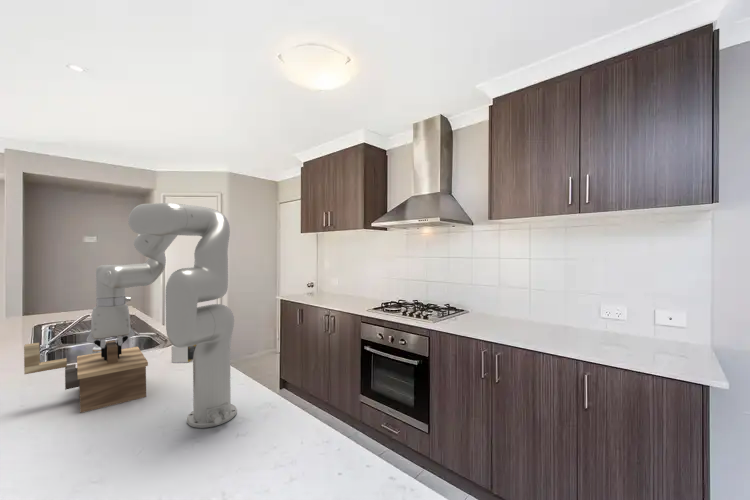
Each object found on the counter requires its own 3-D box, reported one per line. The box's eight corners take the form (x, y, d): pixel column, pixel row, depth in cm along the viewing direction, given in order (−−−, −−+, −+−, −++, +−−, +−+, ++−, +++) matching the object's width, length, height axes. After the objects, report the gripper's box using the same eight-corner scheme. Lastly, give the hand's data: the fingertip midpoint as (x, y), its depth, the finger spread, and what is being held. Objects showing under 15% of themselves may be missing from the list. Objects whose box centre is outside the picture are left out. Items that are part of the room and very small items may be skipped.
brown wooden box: (146, 396, 110) (145, 362, 110) (64, 416, 97) (64, 377, 97) (136, 377, 126) (136, 347, 126) (66, 392, 113) (65, 359, 113)
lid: (147, 365, 110) (147, 346, 110) (77, 379, 98) (77, 357, 98) (137, 349, 127) (137, 333, 127) (77, 359, 116) (76, 341, 116)
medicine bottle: (188, 362, 142) (188, 334, 142) (171, 362, 142) (170, 334, 142) (197, 357, 149) (197, 329, 149) (181, 357, 149) (181, 329, 149)
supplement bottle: (104, 363, 141) (104, 339, 141) (113, 365, 139) (113, 340, 139) (89, 368, 136) (89, 342, 136) (98, 370, 134) (98, 343, 134)
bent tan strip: (66, 367, 104) (66, 340, 104) (24, 374, 98) (24, 346, 98) (66, 364, 106) (66, 338, 106) (25, 371, 101) (25, 344, 100)
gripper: (139, 298, 121) (139, 350, 121) (78, 303, 110) (78, 360, 110) (142, 300, 115) (142, 355, 115) (78, 306, 104) (79, 366, 104)
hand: (111, 357), depth 113 cm, fingers closed on lid, 2 cm apart
